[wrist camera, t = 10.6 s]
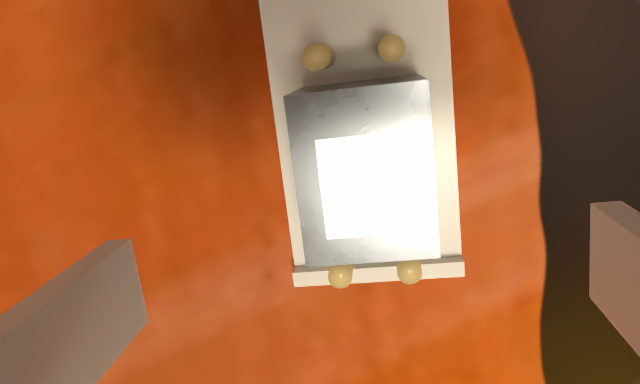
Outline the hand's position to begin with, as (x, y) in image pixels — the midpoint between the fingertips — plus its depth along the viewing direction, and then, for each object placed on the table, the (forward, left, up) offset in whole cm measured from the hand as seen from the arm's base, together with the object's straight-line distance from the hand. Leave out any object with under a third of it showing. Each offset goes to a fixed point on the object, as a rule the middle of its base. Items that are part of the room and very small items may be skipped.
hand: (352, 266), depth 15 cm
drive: (0, 0, -19) cm, 19 cm away
